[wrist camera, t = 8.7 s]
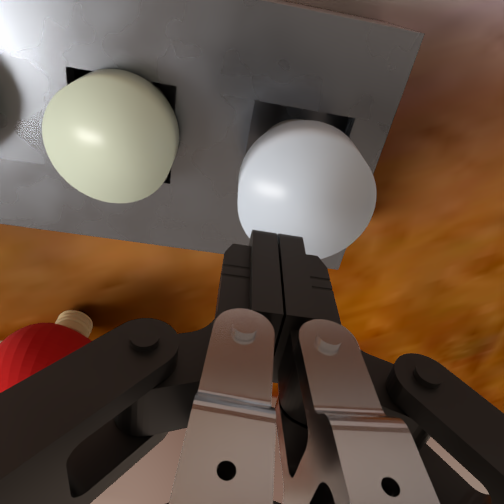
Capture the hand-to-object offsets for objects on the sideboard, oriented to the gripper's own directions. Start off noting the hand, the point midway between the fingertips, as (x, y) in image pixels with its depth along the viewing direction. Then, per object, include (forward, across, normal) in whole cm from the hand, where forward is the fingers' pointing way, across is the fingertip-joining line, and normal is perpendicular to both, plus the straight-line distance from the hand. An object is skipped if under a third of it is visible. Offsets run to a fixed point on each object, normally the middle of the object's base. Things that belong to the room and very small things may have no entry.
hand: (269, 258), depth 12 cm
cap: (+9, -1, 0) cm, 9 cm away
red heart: (+14, +12, +18) cm, 26 cm away
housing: (+14, +7, 0) cm, 16 cm away
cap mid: (+11, +7, 0) cm, 13 cm away
